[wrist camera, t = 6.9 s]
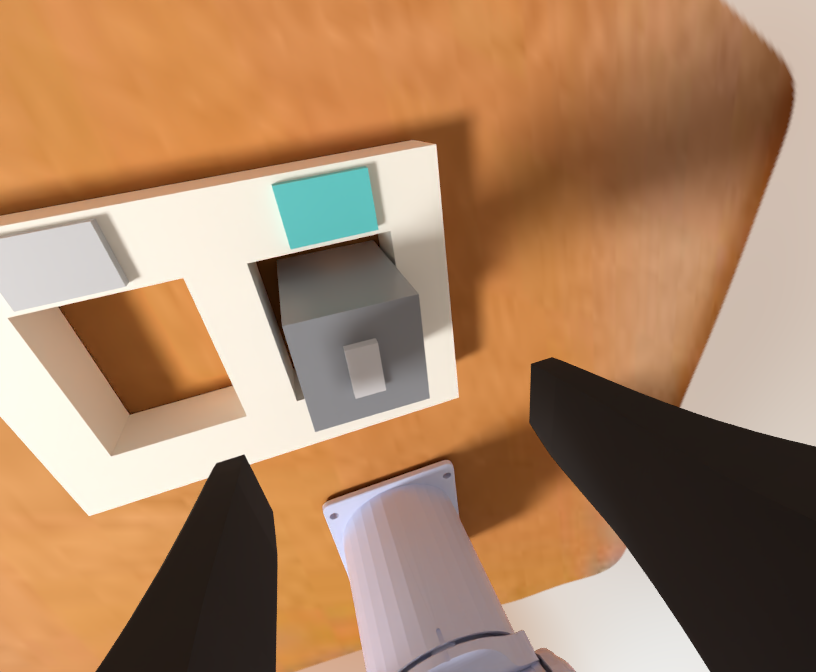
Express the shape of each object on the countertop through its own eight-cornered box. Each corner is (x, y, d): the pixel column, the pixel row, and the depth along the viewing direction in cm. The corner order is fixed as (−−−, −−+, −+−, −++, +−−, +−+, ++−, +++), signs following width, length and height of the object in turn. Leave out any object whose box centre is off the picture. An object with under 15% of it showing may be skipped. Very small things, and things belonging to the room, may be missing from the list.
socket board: (439, 369, 21) (462, 402, 19) (109, 469, 18) (85, 524, 16) (412, 139, 15) (440, 145, 13) (-76, 229, 12) (-159, 258, 10)
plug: (386, 322, 19) (432, 403, 14) (301, 343, 18) (316, 438, 13) (373, 240, 17) (422, 298, 12) (276, 259, 16) (282, 331, 11)
